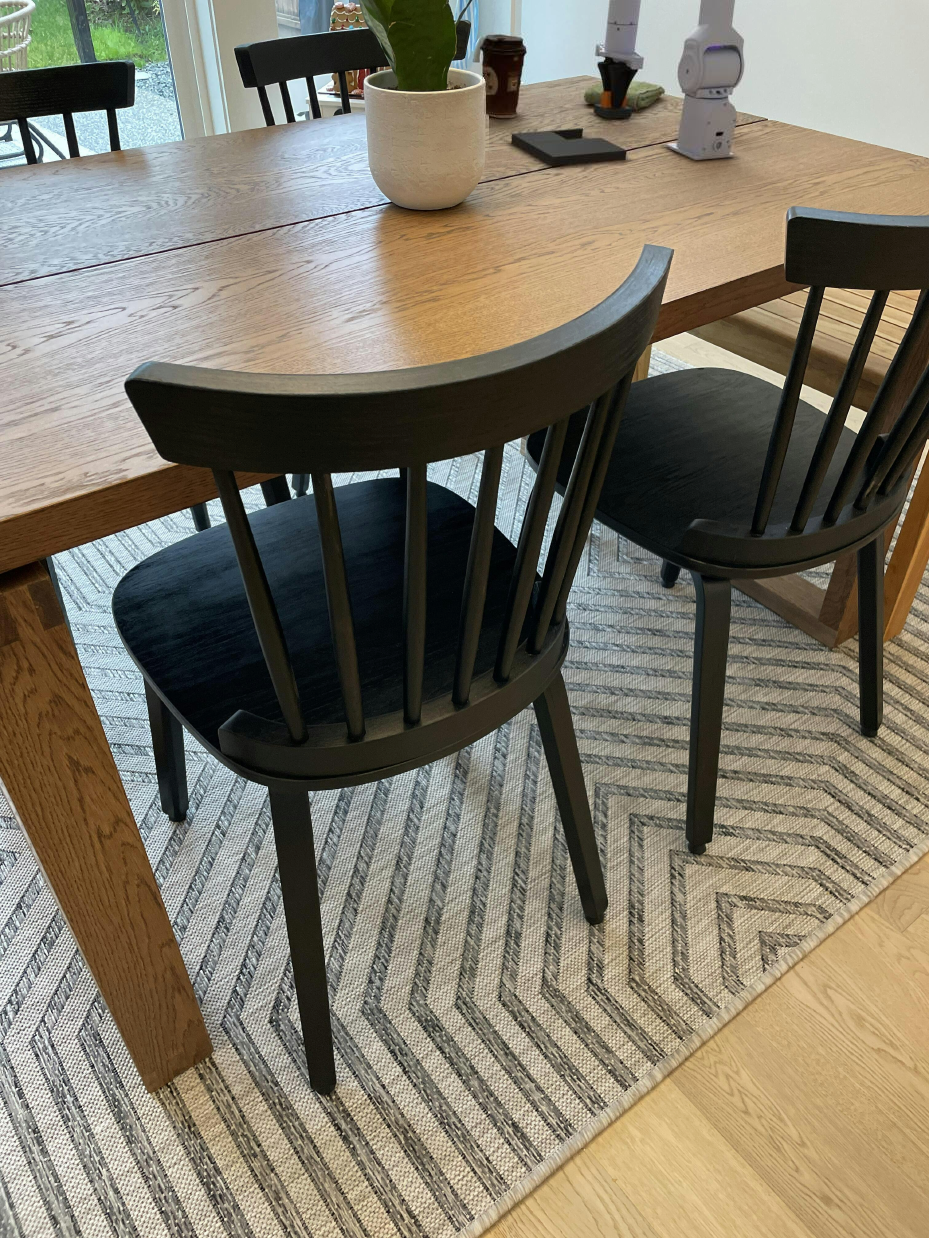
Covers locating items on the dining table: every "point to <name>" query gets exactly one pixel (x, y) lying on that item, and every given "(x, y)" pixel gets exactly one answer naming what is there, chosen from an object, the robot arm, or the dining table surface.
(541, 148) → the base pad
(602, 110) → the connector pad
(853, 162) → the dining table surface
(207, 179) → the dining table surface
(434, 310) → the dining table surface
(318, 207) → the dining table surface
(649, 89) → the washcloth
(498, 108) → the coffee cup
